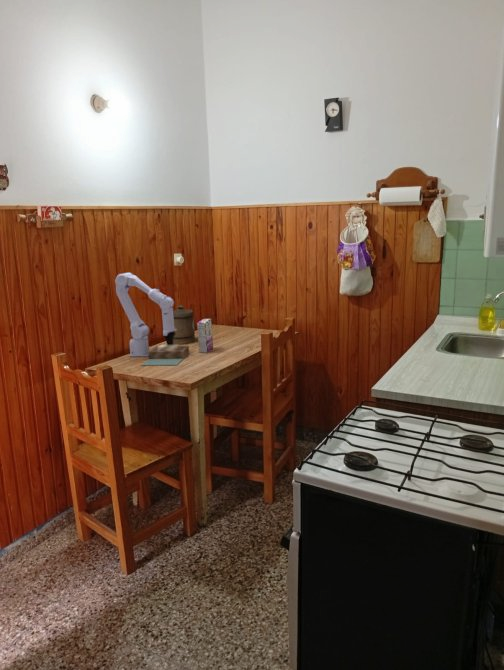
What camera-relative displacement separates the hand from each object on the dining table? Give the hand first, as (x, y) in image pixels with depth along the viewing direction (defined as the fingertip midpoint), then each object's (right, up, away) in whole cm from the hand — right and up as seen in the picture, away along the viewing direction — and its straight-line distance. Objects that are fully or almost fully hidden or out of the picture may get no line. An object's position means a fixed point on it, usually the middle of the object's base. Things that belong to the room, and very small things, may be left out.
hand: (170, 346), depth 253 cm
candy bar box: (+18, -3, +8) cm, 20 cm away
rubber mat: (-2, -8, -13) cm, 16 cm away
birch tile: (0, -2, -4) cm, 4 cm away
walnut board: (0, -5, -2) cm, 6 cm away
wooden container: (+2, +2, +31) cm, 32 cm away
